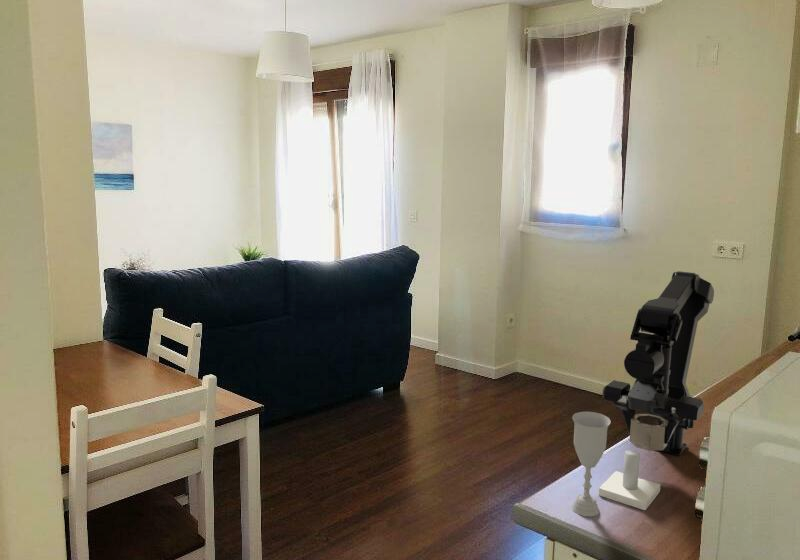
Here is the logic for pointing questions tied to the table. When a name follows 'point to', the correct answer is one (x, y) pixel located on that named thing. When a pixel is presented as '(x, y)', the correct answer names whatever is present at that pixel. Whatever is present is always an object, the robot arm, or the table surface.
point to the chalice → (589, 454)
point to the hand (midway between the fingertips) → (648, 438)
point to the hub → (648, 432)
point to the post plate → (629, 494)
